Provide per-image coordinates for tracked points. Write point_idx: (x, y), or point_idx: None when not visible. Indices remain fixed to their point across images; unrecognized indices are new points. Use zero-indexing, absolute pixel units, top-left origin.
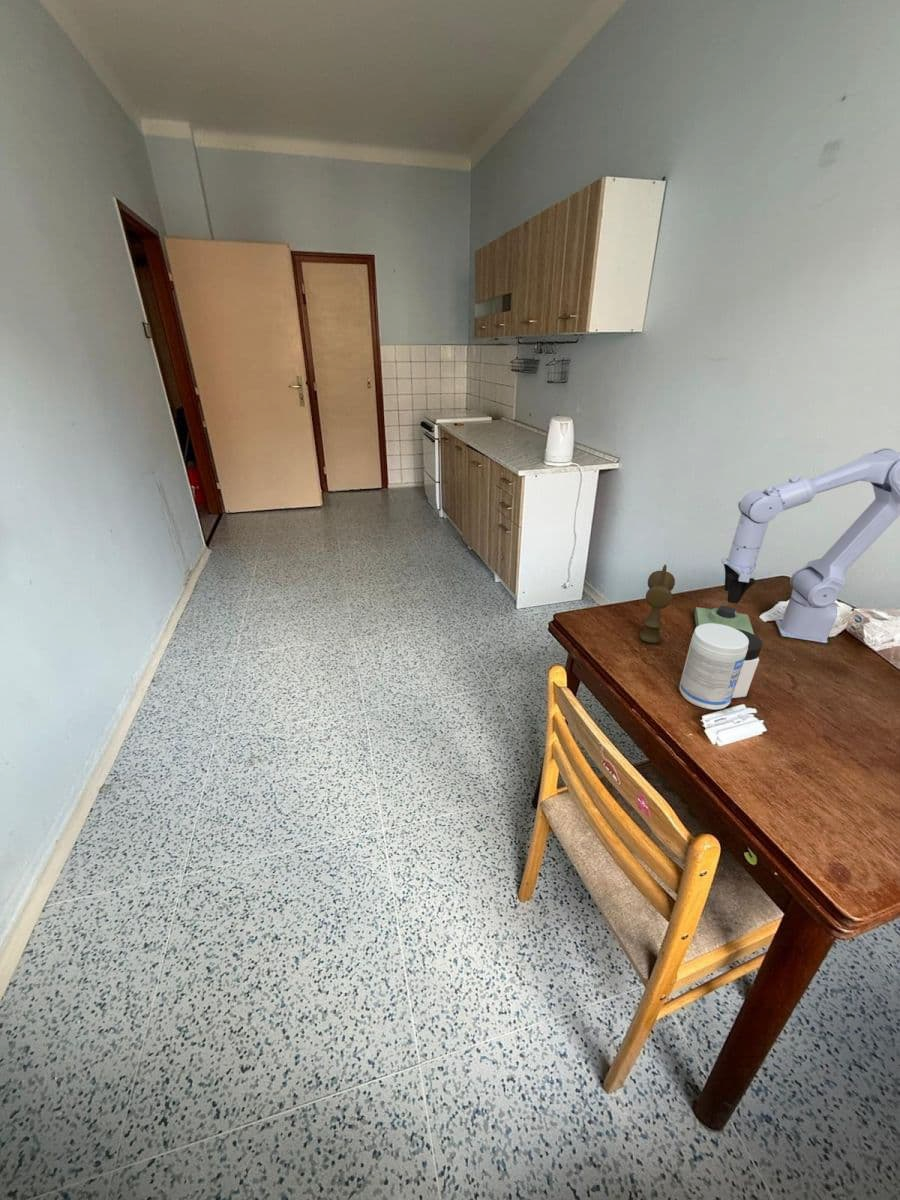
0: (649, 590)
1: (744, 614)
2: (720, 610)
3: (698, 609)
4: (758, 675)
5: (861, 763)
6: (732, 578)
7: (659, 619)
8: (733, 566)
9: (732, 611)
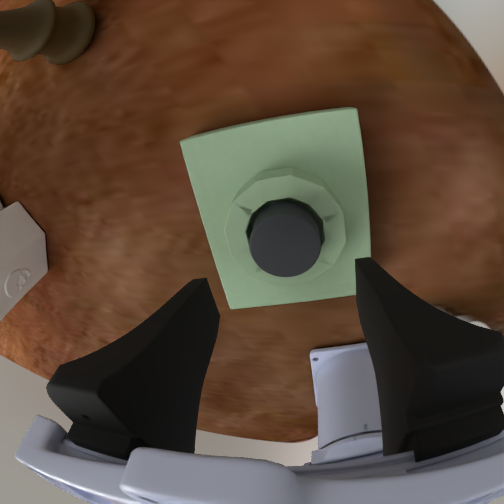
0: None
1: None
2: (259, 220)
3: (336, 118)
4: (93, 297)
5: (38, 364)
6: (51, 399)
7: (9, 49)
8: (74, 485)
9: (270, 268)
